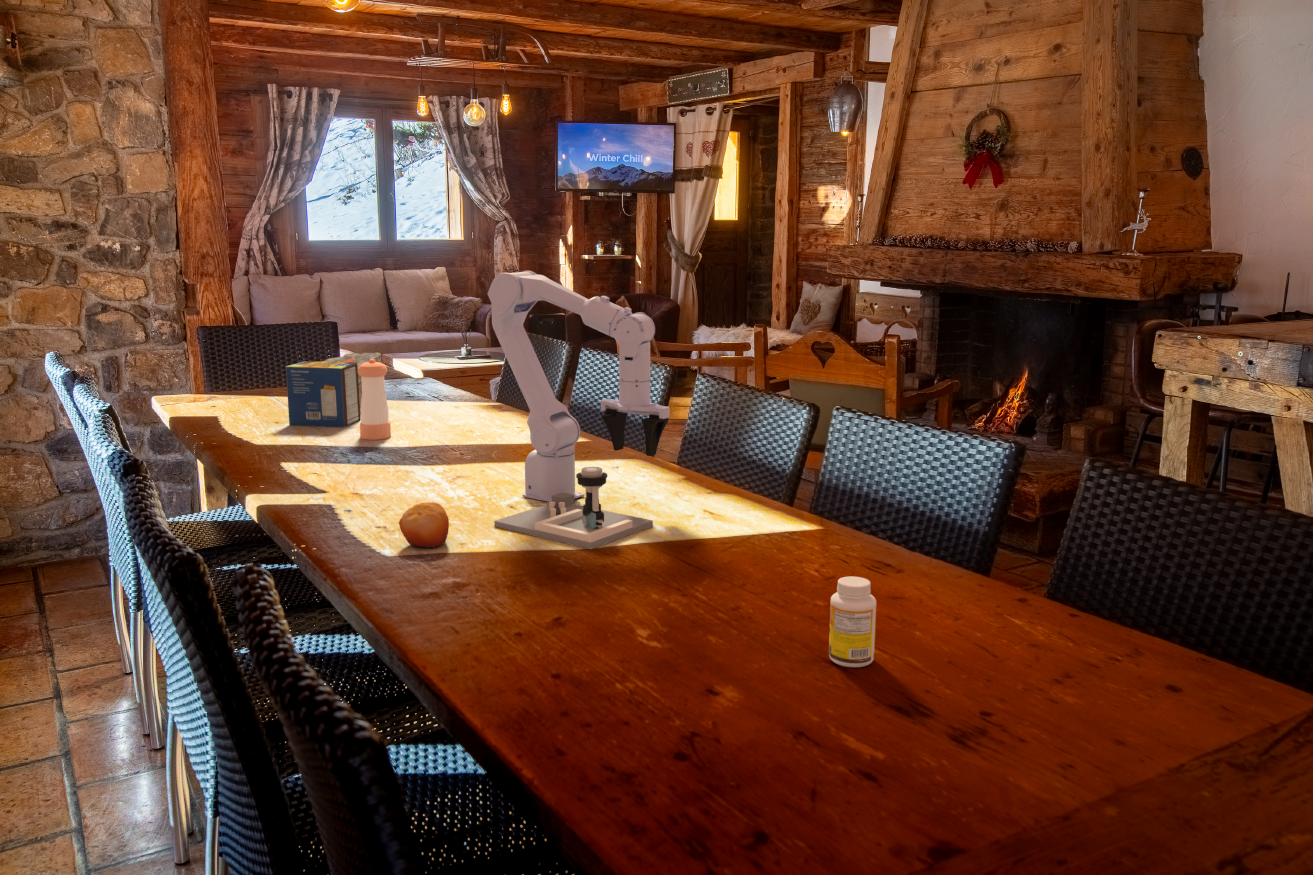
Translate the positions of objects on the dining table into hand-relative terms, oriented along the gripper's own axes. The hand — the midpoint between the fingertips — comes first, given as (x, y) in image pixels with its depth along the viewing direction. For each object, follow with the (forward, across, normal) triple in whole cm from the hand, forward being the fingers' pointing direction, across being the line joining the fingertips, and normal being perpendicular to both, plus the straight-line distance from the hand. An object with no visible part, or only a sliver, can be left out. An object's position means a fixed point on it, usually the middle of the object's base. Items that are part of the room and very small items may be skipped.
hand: (634, 452), depth 202 cm
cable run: (+9, -7, -13) cm, 17 cm away
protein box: (+11, -115, +17) cm, 117 cm away
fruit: (+11, -13, -40) cm, 43 cm away
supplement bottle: (+11, +65, -41) cm, 78 cm away
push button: (+10, +5, -18) cm, 21 cm away
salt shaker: (+11, -90, +13) cm, 92 cm away
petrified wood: (+11, -131, +37) cm, 137 cm away
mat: (+10, 0, -17) cm, 20 cm away
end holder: (+9, +4, -19) cm, 22 cm away
